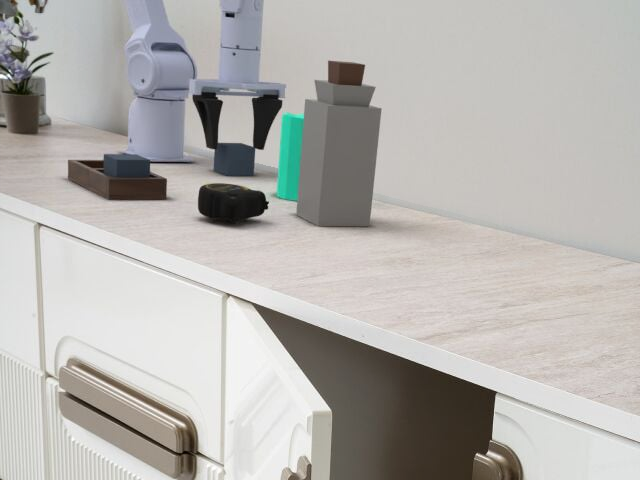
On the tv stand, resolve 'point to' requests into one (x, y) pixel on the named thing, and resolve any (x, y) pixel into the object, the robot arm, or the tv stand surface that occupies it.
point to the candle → (290, 156)
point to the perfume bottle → (339, 149)
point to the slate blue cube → (234, 159)
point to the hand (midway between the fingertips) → (235, 148)
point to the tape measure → (230, 202)
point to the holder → (115, 182)
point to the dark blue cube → (126, 166)
